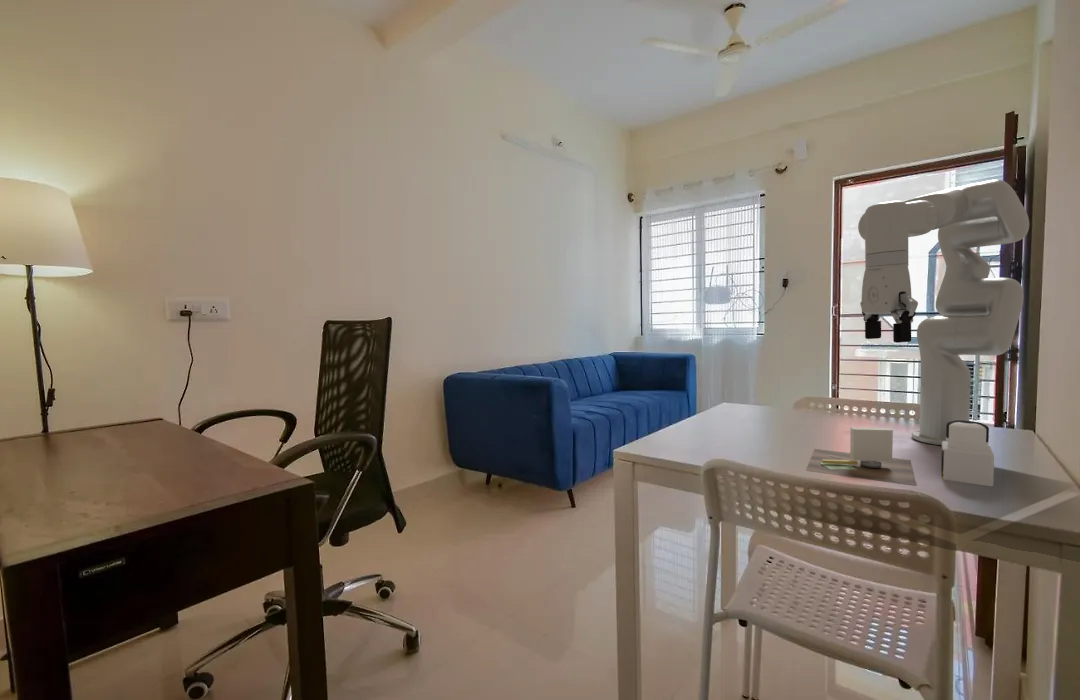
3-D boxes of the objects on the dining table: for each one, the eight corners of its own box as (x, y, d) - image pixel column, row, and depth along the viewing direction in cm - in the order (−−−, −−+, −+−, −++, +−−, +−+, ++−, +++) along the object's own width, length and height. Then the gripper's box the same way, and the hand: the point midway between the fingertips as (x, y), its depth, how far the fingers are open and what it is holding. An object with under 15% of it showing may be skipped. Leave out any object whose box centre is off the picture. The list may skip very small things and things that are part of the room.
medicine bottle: (940, 474, 96) (942, 416, 95) (989, 481, 91) (991, 420, 91) (941, 485, 90) (943, 423, 90) (993, 493, 86) (995, 428, 85)
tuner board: (814, 453, 112) (814, 448, 112) (910, 465, 102) (910, 459, 102) (805, 475, 98) (805, 469, 98) (916, 492, 87) (916, 485, 87)
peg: (894, 470, 96) (894, 431, 96) (825, 467, 99) (825, 429, 99) (886, 464, 100) (886, 427, 99) (819, 461, 103) (820, 425, 102)
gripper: (845, 266, 111) (846, 338, 112) (894, 259, 93) (895, 345, 95) (879, 263, 110) (880, 336, 112) (935, 256, 93) (934, 342, 94)
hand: (887, 340), depth 103 cm, fingers open, 9 cm apart
